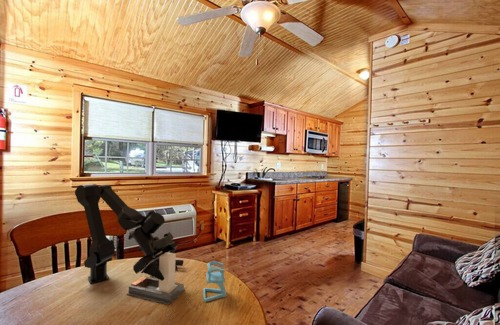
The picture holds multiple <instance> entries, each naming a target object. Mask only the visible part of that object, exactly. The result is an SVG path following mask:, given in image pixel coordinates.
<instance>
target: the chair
mask: <svg viewBox="0 0 500 325" xmlns="http://www.w3.org/2000/svg"><path fill="white" fill-rule="evenodd" d="M214 265H218V266H214ZM206 266H207V272H206V273H205V275H206V276H205V277H206V284H216V285H218V287H219V288H214V287H213V288H211V287H204V288H203V302H204V303H206V302H207V303H208V302H210V301H213V300H214V301H215V300H217V299H220V298H225V297H227V292H226V286H225V285H224V283H226V279H225V278H226V277H225V271H226V269H223V267H224V263H223V262H219V261H216V260H214V261H210V262H208V263H207V264H206ZM219 266H220V267H219ZM206 292H211V293H219V294H216V295H213V296H209V297H207V296H206Z"/></svg>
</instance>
